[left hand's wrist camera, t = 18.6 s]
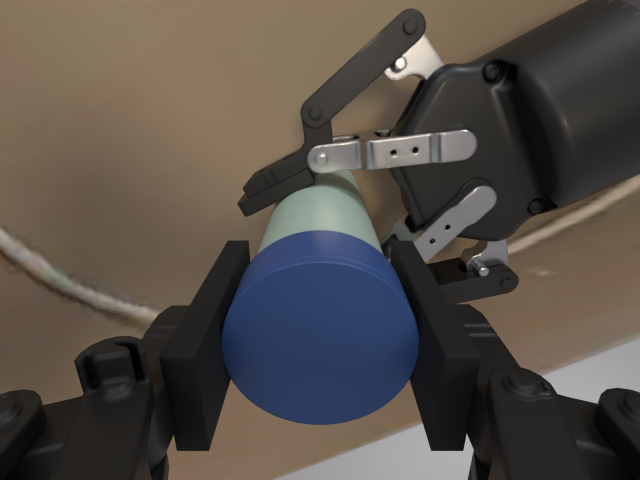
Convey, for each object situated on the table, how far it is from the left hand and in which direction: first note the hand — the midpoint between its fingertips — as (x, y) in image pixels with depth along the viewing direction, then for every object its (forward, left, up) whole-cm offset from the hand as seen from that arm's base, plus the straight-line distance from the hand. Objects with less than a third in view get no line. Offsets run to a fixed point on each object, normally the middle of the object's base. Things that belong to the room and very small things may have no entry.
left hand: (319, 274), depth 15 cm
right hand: (-3, 0, -5) cm, 5 cm away
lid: (0, 0, +4) cm, 4 cm away
